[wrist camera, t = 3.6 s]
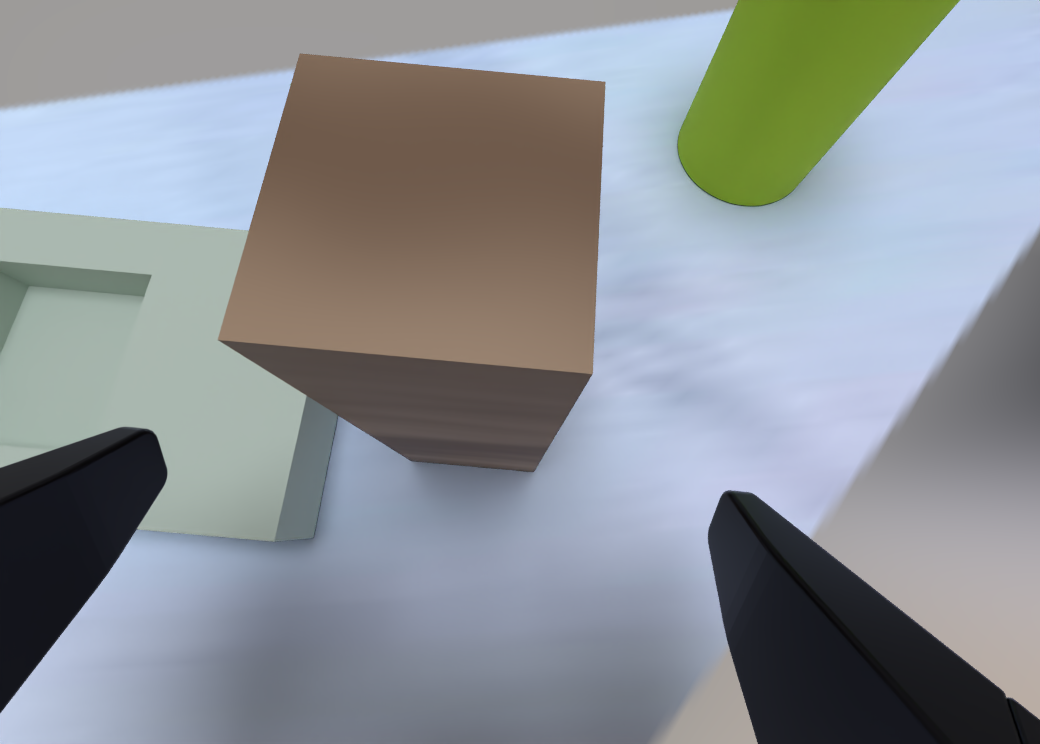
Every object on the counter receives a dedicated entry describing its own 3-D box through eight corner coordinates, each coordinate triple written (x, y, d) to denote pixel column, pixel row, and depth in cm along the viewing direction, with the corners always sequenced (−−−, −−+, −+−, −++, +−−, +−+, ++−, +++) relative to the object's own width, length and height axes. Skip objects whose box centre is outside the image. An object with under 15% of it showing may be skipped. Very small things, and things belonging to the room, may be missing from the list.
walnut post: (533, 472, 18) (592, 373, 6) (411, 461, 18) (217, 339, 6) (542, 356, 19) (605, 82, 7) (428, 345, 19) (299, 53, 7)
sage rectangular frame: (364, 279, 20) (341, 239, 17) (313, 538, 17) (274, 541, 14) (-77, 239, 20) (-176, 191, 17) (-206, 491, 17) (-353, 485, 14)
